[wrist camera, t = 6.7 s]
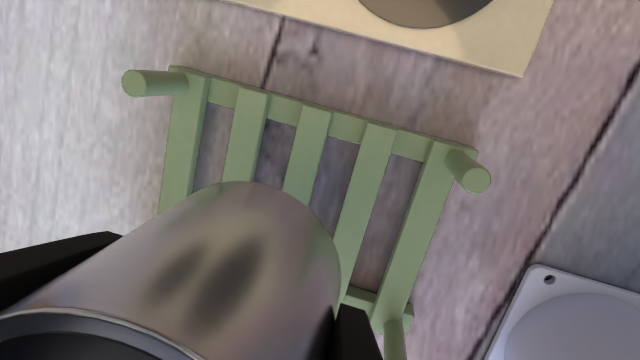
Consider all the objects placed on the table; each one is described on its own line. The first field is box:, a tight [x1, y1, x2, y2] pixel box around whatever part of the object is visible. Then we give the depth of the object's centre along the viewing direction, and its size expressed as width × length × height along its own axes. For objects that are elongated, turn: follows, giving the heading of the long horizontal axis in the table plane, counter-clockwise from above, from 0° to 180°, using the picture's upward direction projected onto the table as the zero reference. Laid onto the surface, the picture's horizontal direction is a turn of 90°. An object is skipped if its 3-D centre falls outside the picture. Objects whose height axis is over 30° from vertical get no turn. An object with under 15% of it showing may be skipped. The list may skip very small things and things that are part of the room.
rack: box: [122, 65, 491, 360], centre depth 17 cm, size 15×10×5 cm
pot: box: [0, 181, 341, 360], centre depth 8 cm, size 6×6×6 cm
